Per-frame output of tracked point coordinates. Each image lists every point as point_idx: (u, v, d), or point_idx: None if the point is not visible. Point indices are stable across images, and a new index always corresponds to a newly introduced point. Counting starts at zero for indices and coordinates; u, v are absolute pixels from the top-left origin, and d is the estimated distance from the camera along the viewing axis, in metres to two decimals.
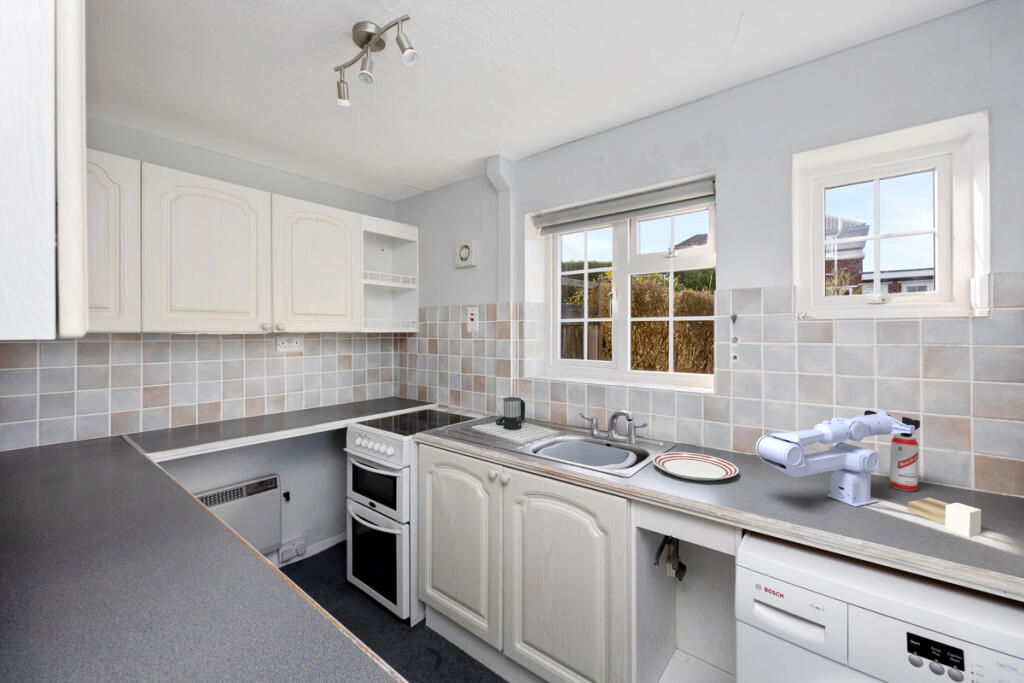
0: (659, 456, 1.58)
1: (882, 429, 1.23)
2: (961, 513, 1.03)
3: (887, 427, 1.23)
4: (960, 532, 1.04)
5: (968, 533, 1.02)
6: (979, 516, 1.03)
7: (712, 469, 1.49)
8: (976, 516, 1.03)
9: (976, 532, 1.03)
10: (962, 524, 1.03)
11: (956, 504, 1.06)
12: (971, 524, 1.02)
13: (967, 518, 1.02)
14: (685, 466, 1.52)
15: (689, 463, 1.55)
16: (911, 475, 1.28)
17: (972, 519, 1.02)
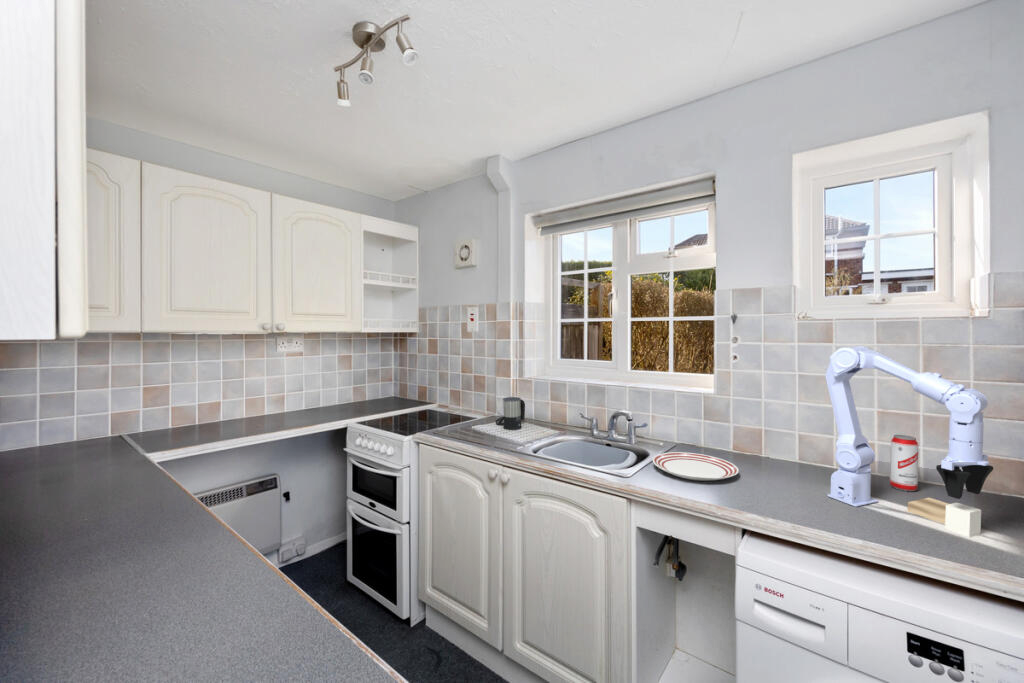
0: (659, 457, 1.58)
1: (955, 443, 1.04)
2: (961, 513, 1.03)
3: (958, 451, 1.03)
4: (960, 532, 1.04)
5: (968, 533, 1.02)
6: (979, 516, 1.03)
7: (712, 469, 1.49)
8: (976, 516, 1.03)
9: (976, 532, 1.03)
10: (962, 524, 1.03)
11: (956, 504, 1.06)
12: (971, 524, 1.02)
13: (967, 518, 1.02)
14: (685, 466, 1.52)
15: (689, 463, 1.55)
16: (911, 475, 1.28)
17: (972, 519, 1.02)
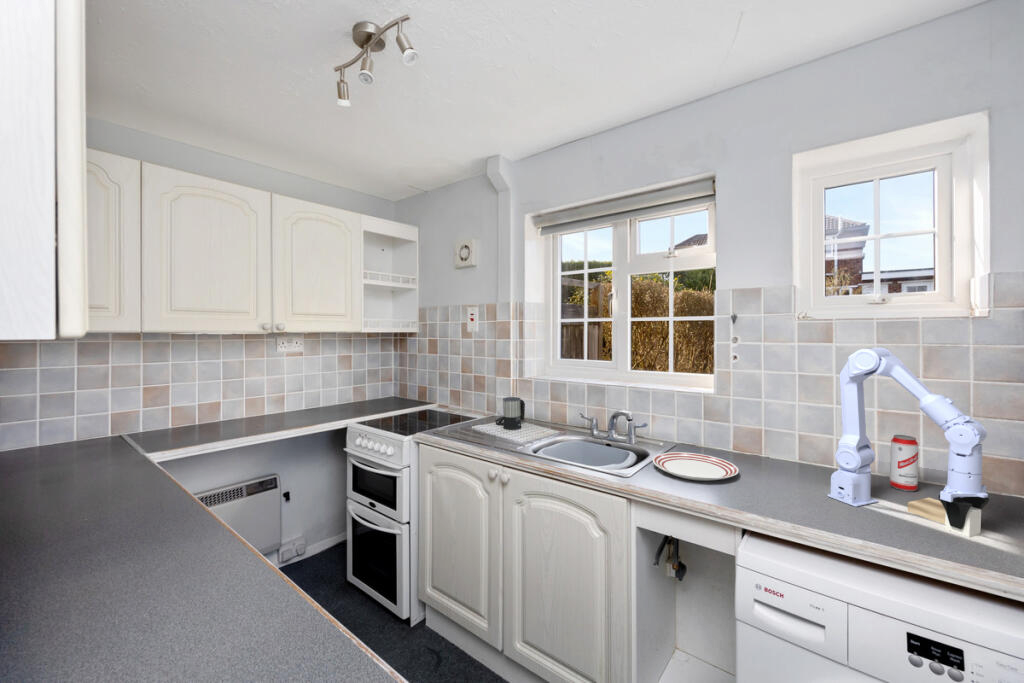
0: (659, 457, 1.58)
1: (954, 474, 1.04)
2: None
3: (957, 482, 1.04)
4: (960, 532, 1.04)
5: (968, 533, 1.02)
6: (979, 516, 1.03)
7: (712, 469, 1.49)
8: (976, 515, 1.03)
9: (976, 532, 1.03)
10: None
11: None
12: (971, 523, 1.02)
13: (967, 518, 1.02)
14: (685, 466, 1.52)
15: (689, 463, 1.55)
16: (911, 475, 1.28)
17: (972, 519, 1.02)
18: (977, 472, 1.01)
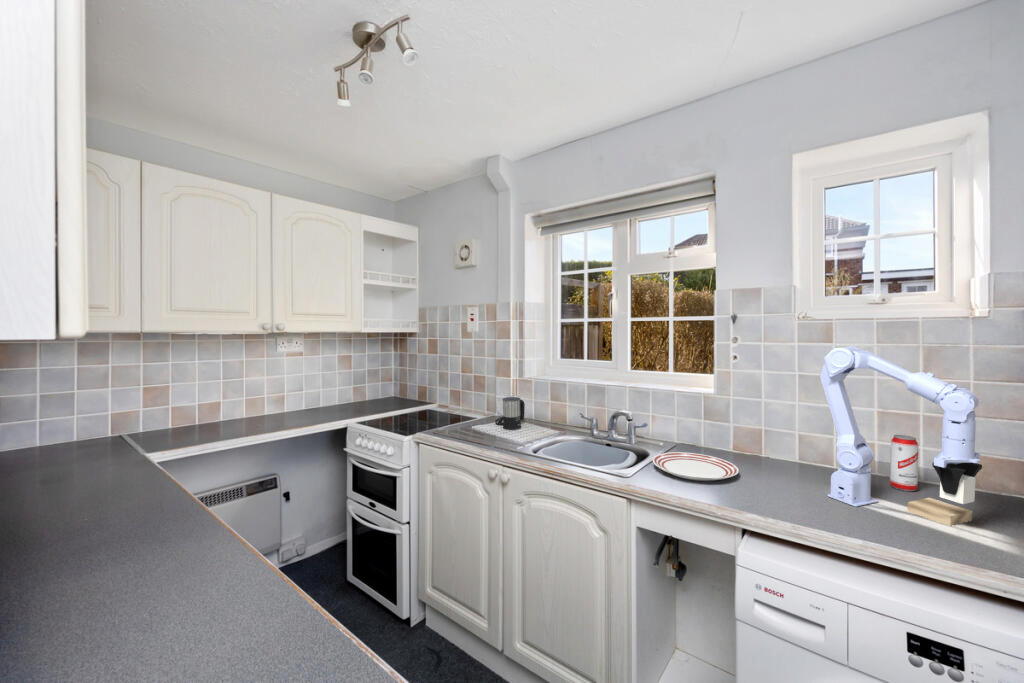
0: (659, 457, 1.58)
1: (948, 441, 1.06)
2: None
3: (950, 449, 1.06)
4: (954, 499, 1.06)
5: (962, 500, 1.04)
6: (973, 484, 1.05)
7: (712, 469, 1.49)
8: (970, 483, 1.05)
9: (970, 499, 1.05)
10: (957, 492, 1.05)
11: None
12: (965, 491, 1.04)
13: (962, 486, 1.04)
14: (685, 466, 1.52)
15: (689, 463, 1.55)
16: (911, 475, 1.28)
17: (966, 486, 1.04)
18: (971, 438, 1.04)
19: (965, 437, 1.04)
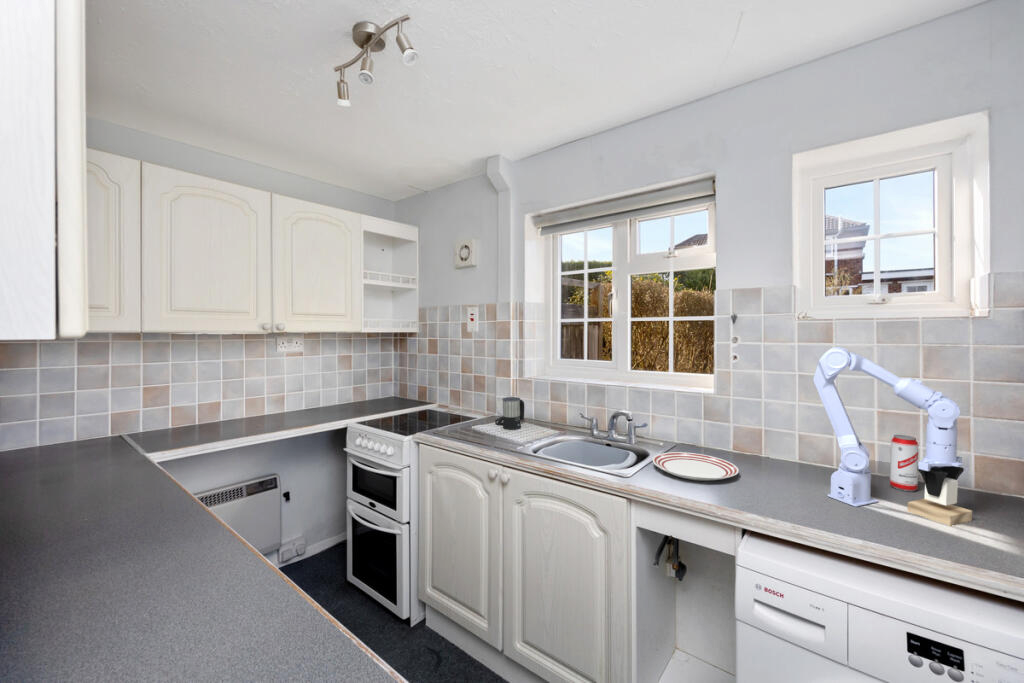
0: (659, 456, 1.58)
1: (931, 446, 1.12)
2: None
3: (934, 453, 1.12)
4: (938, 501, 1.12)
5: (945, 501, 1.10)
6: (956, 486, 1.11)
7: (712, 469, 1.49)
8: (952, 486, 1.11)
9: (953, 501, 1.11)
10: (940, 494, 1.11)
11: None
12: (948, 493, 1.10)
13: (945, 488, 1.10)
14: (685, 466, 1.52)
15: (689, 463, 1.55)
16: (911, 475, 1.28)
17: (949, 489, 1.10)
18: (955, 443, 1.10)
19: (951, 442, 1.10)
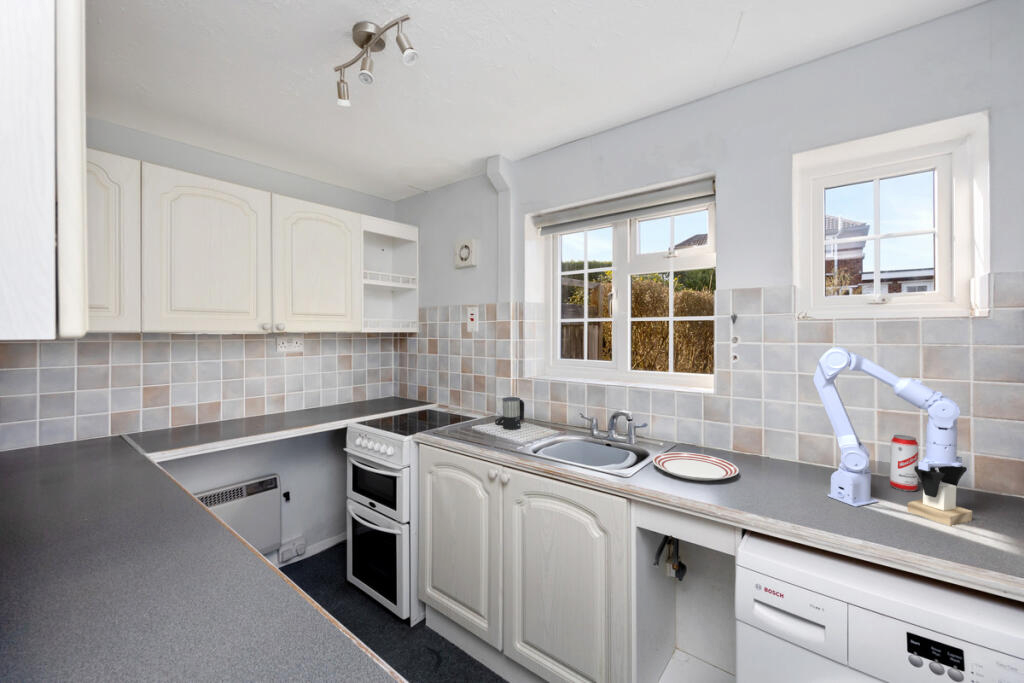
0: (659, 456, 1.58)
1: (932, 445, 1.12)
2: None
3: (934, 453, 1.12)
4: (936, 506, 1.12)
5: (943, 507, 1.10)
6: (954, 492, 1.11)
7: (712, 469, 1.49)
8: (950, 491, 1.11)
9: (951, 506, 1.11)
10: (938, 499, 1.11)
11: None
12: (946, 498, 1.10)
13: (942, 493, 1.11)
14: (685, 466, 1.52)
15: (689, 463, 1.55)
16: (911, 475, 1.28)
17: (947, 494, 1.11)
18: (955, 443, 1.10)
19: (951, 442, 1.10)
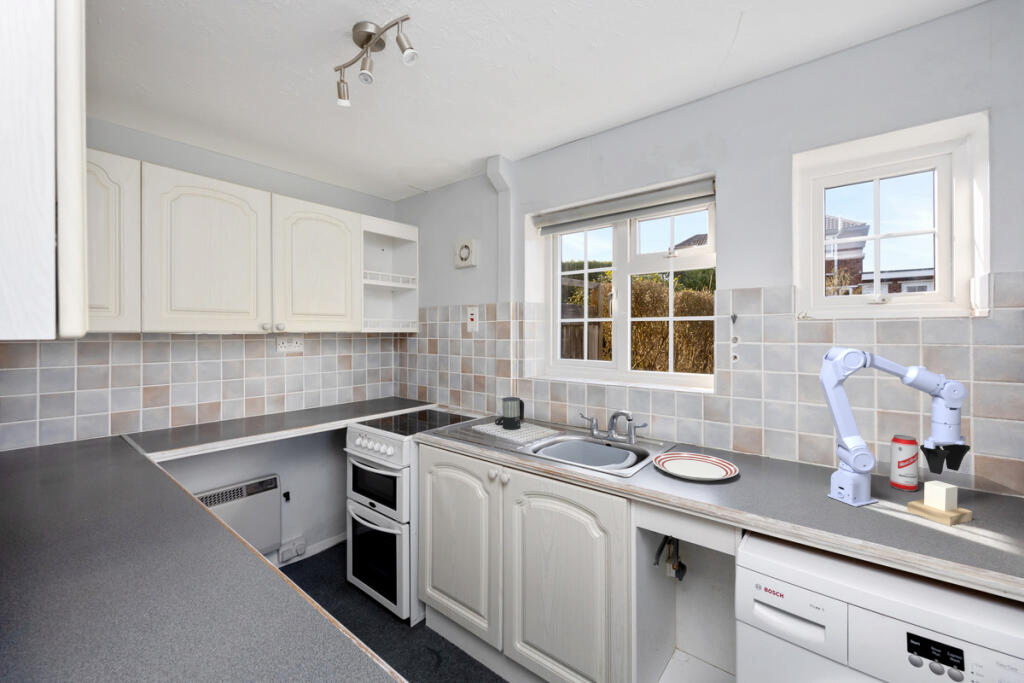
0: (659, 457, 1.58)
1: (937, 425, 1.17)
2: (938, 489, 1.12)
3: (939, 432, 1.17)
4: (937, 507, 1.12)
5: (944, 507, 1.10)
6: (955, 492, 1.11)
7: (712, 469, 1.49)
8: (952, 492, 1.11)
9: (952, 507, 1.11)
10: (939, 500, 1.11)
11: (935, 481, 1.15)
12: (947, 499, 1.10)
13: (943, 494, 1.10)
14: (685, 466, 1.52)
15: (689, 463, 1.55)
16: (911, 475, 1.28)
17: (948, 494, 1.10)
18: (960, 421, 1.16)
19: (959, 421, 1.15)
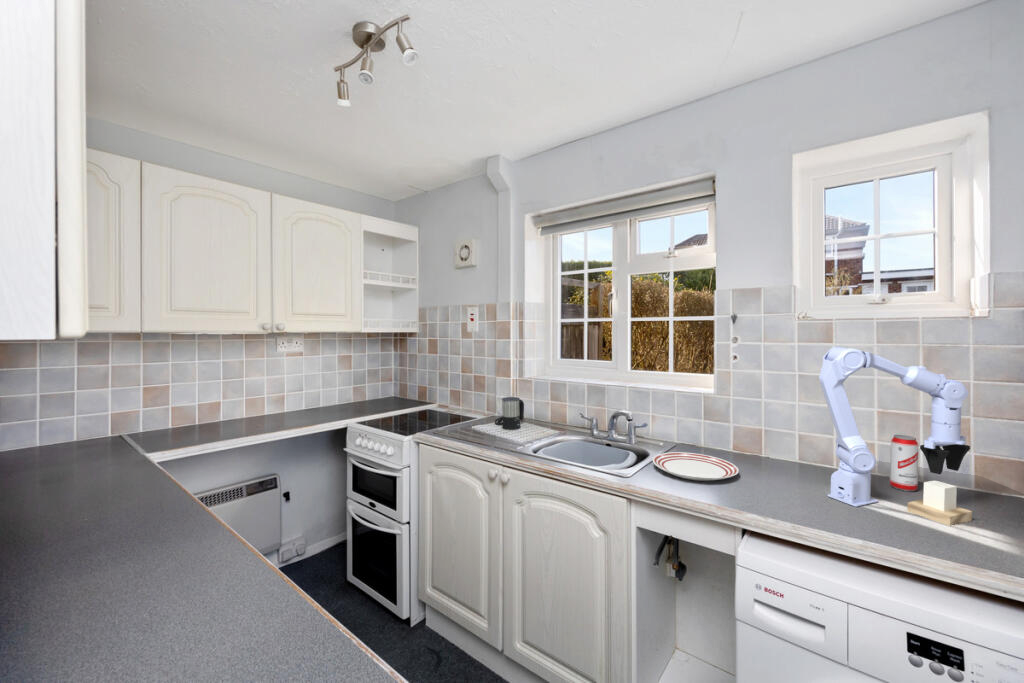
0: (659, 456, 1.58)
1: (937, 425, 1.17)
2: (937, 489, 1.12)
3: (939, 432, 1.17)
4: (936, 507, 1.12)
5: (943, 507, 1.10)
6: (954, 492, 1.11)
7: (712, 469, 1.49)
8: (951, 492, 1.11)
9: (951, 507, 1.11)
10: (938, 500, 1.11)
11: (934, 482, 1.15)
12: (946, 499, 1.10)
13: (942, 494, 1.11)
14: (685, 466, 1.52)
15: (689, 463, 1.55)
16: (911, 475, 1.28)
17: (947, 495, 1.10)
18: (960, 421, 1.16)
19: (959, 421, 1.15)
